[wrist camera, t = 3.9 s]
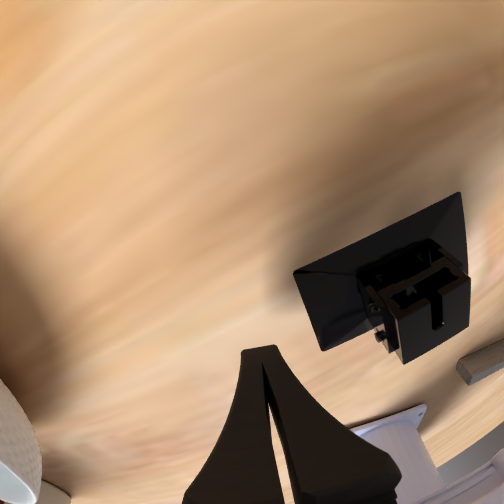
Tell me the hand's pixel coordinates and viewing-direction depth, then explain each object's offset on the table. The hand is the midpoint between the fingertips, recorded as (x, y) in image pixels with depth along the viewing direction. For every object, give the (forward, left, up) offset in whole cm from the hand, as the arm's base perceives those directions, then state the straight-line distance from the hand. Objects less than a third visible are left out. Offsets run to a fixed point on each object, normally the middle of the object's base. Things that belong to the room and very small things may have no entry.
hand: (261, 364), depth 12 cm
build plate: (+1, -7, -3) cm, 8 cm away
